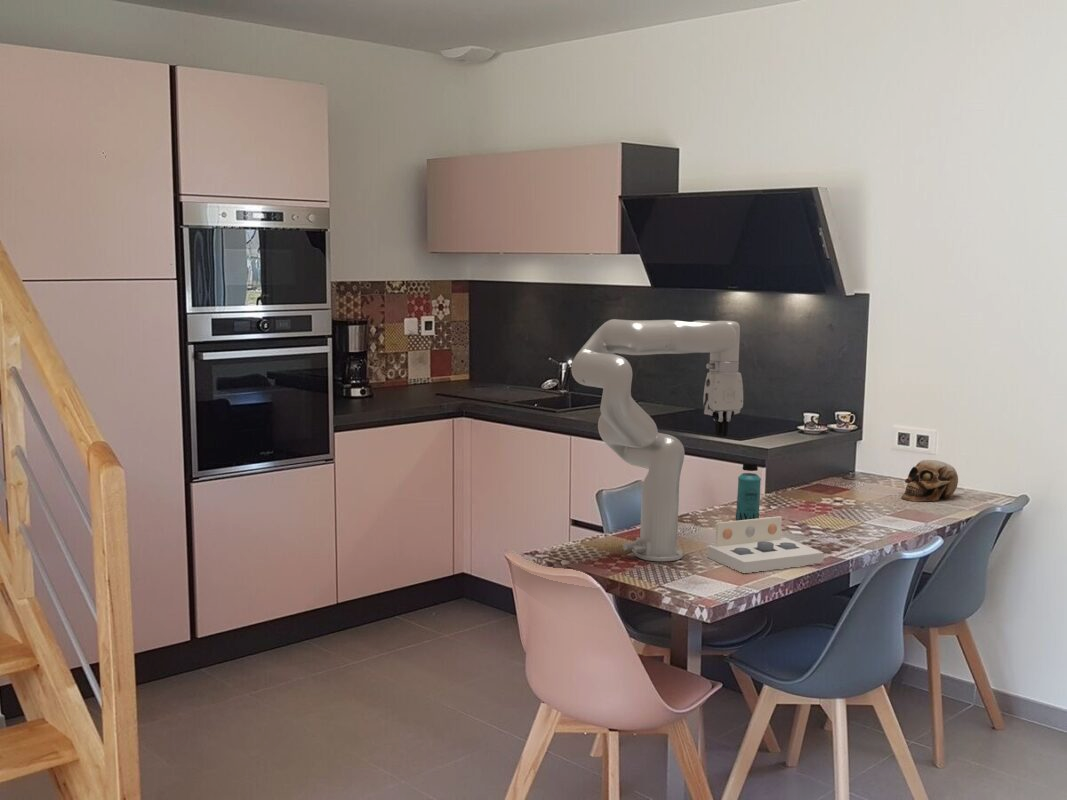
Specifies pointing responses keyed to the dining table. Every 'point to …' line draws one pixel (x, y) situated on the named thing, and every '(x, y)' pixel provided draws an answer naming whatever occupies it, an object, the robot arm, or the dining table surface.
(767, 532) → the button panel
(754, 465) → the beverage bottle
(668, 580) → the dining table surface
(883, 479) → the dining table surface
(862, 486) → the dining table surface
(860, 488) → the dining table surface
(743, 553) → the button left
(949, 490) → the brown skull
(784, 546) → the button right
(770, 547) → the button middle
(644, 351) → the robot arm
